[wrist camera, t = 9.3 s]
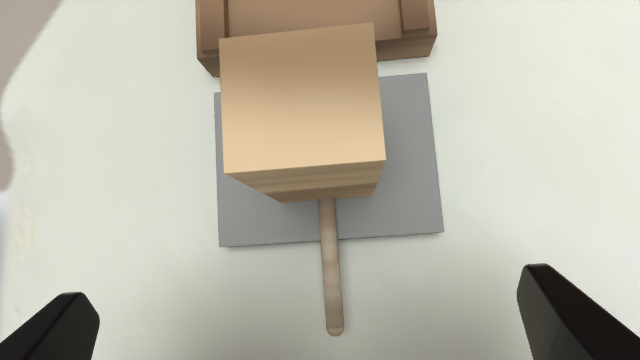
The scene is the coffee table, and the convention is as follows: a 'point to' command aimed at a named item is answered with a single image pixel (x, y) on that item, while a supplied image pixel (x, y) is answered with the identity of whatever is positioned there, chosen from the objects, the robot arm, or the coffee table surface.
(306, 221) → the grey rubber pad
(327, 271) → the oak mallet
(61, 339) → the robot arm
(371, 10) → the walnut shelf lane
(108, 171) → the coffee table surface
